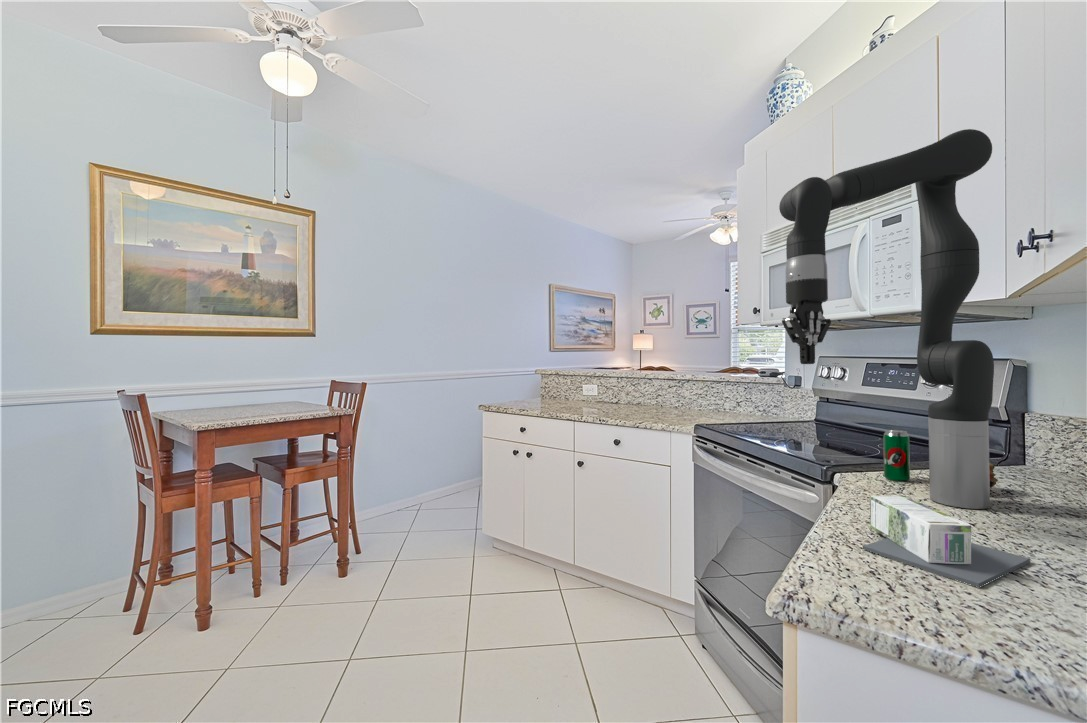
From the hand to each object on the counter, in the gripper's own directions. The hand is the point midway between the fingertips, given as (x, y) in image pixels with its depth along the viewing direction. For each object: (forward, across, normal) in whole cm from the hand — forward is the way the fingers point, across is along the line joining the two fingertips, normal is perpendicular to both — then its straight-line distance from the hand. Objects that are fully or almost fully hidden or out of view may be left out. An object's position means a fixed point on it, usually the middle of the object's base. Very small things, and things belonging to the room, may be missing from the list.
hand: (807, 363), depth 95 cm
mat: (+29, -7, -25) cm, 39 cm away
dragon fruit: (+29, +40, -11) cm, 51 cm away
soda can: (+29, +37, +2) cm, 47 cm away
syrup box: (+26, -4, -16) cm, 30 cm away
